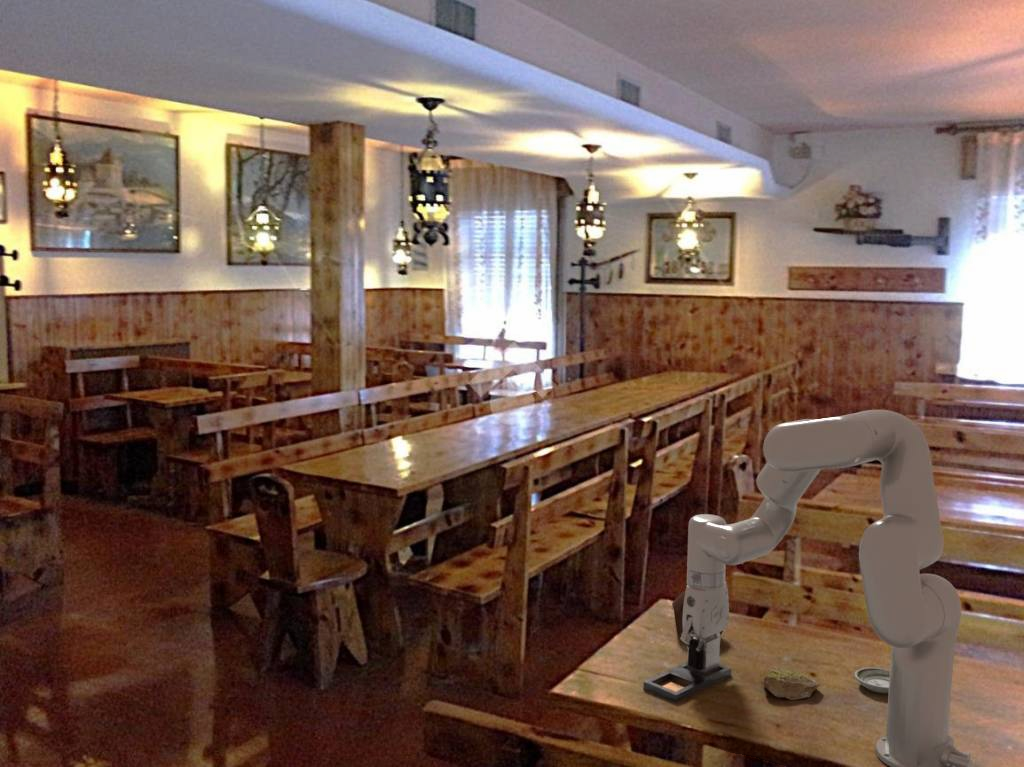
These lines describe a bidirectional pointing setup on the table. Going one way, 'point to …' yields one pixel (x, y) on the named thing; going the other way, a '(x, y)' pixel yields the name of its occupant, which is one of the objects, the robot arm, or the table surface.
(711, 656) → the silver rectangular block
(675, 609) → the muffin
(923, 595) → the robot arm
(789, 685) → the rock
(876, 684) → the saucer
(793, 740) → the table surface
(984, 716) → the table surface
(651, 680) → the dark grey slotted tray
